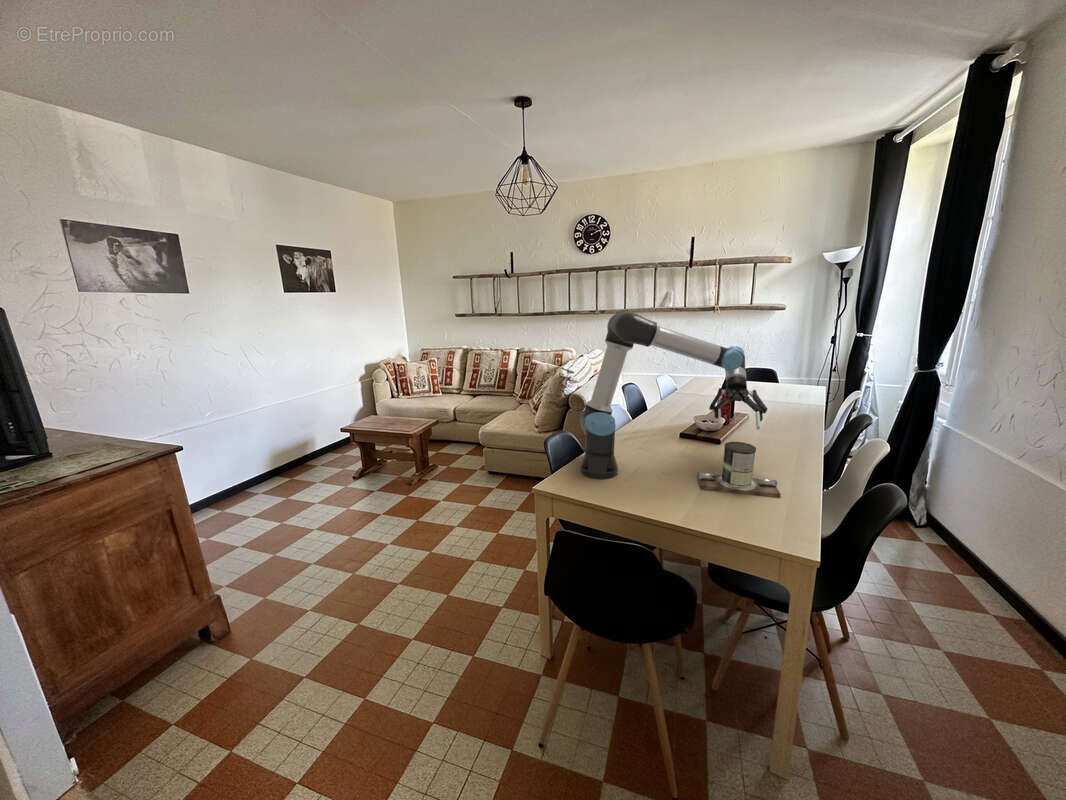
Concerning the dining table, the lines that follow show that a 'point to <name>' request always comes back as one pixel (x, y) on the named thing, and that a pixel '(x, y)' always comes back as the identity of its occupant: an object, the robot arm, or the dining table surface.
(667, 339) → the robot arm
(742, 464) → the coffee can
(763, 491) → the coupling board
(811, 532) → the dining table surface
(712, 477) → the shaft stubs
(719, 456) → the dining table surface
